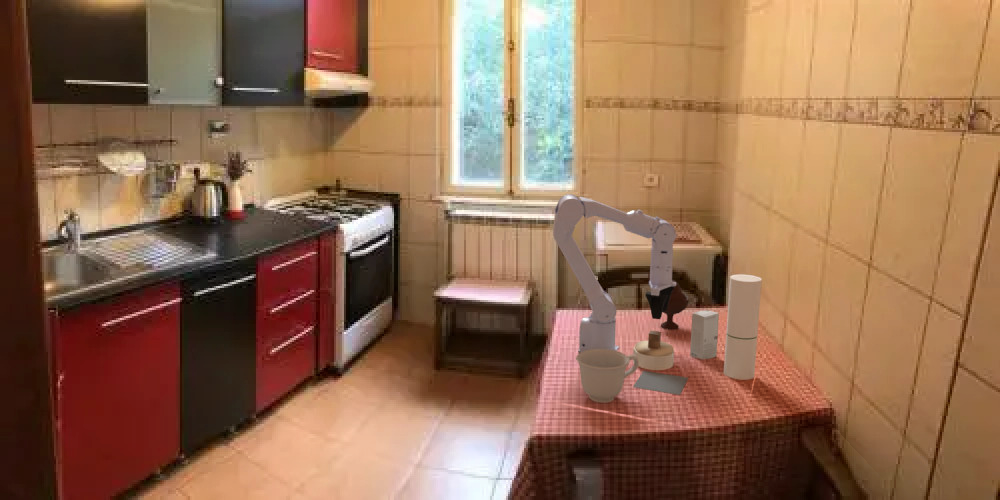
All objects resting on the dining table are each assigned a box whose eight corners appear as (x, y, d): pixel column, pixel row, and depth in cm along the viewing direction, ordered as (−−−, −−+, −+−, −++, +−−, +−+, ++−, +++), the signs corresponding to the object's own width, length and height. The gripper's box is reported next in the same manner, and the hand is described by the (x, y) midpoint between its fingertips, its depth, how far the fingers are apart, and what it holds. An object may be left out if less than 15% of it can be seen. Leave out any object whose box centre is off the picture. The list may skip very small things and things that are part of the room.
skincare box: (702, 361, 175) (704, 317, 172) (688, 356, 178) (691, 312, 176) (717, 356, 178) (720, 313, 175) (704, 351, 182) (706, 308, 179)
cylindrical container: (753, 372, 167) (761, 275, 162) (754, 382, 161) (762, 282, 156) (723, 368, 170) (730, 273, 164) (723, 379, 163) (729, 280, 158)
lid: (631, 353, 170) (631, 335, 169) (639, 341, 178) (640, 324, 177) (669, 358, 166) (670, 341, 165) (676, 346, 174) (677, 329, 173)
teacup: (649, 405, 149) (651, 363, 147) (588, 413, 145) (589, 370, 143) (624, 384, 161) (626, 344, 159) (567, 392, 157) (567, 351, 154)
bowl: (628, 367, 171) (629, 353, 170) (638, 354, 180) (638, 340, 179) (669, 374, 166) (669, 359, 166) (676, 360, 175) (677, 346, 175)
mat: (632, 388, 158) (632, 386, 158) (643, 372, 168) (643, 370, 168) (679, 396, 153) (680, 394, 153) (688, 379, 163) (688, 377, 163)
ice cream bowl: (692, 332, 197) (695, 283, 194) (654, 332, 197) (656, 283, 194) (683, 321, 207) (686, 274, 204) (647, 321, 207) (649, 274, 204)
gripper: (671, 273, 169) (669, 324, 172) (681, 261, 182) (679, 308, 185) (643, 270, 172) (642, 320, 175) (655, 259, 185) (654, 306, 188)
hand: (659, 314), depth 180 cm, fingers open, 7 cm apart
